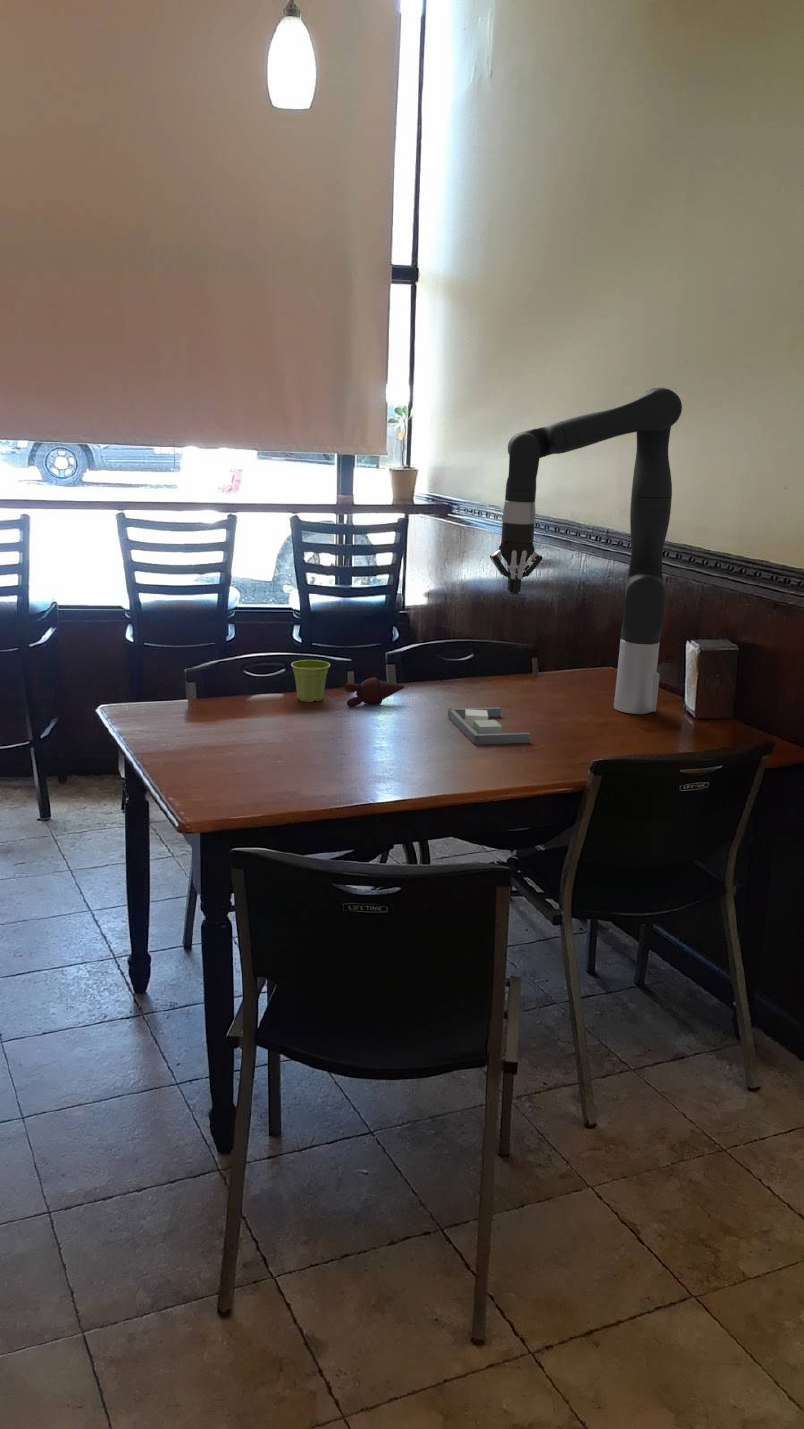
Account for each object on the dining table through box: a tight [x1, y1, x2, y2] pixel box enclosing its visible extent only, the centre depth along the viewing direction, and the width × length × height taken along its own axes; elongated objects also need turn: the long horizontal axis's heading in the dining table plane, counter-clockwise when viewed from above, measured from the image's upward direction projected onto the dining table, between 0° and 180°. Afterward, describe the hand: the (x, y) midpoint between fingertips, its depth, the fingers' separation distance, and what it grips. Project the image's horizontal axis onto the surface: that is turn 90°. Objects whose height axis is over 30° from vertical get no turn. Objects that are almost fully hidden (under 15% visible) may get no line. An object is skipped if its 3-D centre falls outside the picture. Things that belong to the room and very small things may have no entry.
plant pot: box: [290, 659, 331, 703], centre depth 268 cm, size 9×9×9 cm
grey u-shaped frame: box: [447, 706, 531, 746], centre depth 251 cm, size 12×21×2 cm, turn 14°
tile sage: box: [472, 719, 503, 734], centre depth 247 cm, size 5×5×3 cm
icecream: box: [343, 676, 405, 708], centre depth 266 cm, size 7×7×15 cm
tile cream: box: [464, 709, 489, 728], centre depth 254 cm, size 5×5×3 cm
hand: (513, 594), depth 265 cm, fingers closed
